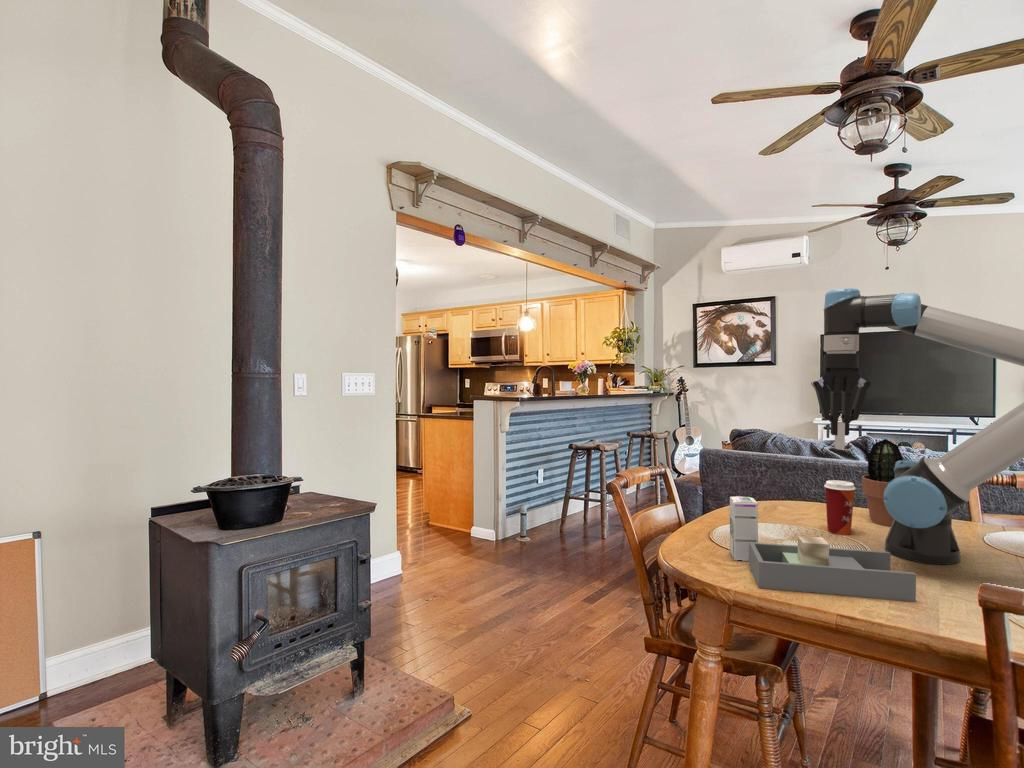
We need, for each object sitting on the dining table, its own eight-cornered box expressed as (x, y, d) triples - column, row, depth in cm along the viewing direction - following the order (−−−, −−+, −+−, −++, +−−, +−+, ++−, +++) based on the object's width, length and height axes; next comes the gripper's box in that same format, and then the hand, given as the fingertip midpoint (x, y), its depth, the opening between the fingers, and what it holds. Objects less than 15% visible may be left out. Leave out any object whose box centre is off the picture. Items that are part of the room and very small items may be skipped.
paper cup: (854, 537, 155) (855, 486, 155) (822, 533, 159) (823, 483, 159) (855, 530, 162) (856, 481, 162) (824, 526, 166) (825, 478, 166)
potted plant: (928, 528, 163) (929, 441, 162) (880, 529, 163) (882, 442, 162) (895, 516, 177) (896, 435, 176) (851, 516, 177) (852, 436, 176)
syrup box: (758, 562, 137) (759, 502, 136) (732, 560, 138) (733, 501, 137) (753, 554, 142) (754, 496, 142) (728, 553, 143) (729, 495, 143)
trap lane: (888, 576, 127) (888, 551, 127) (915, 601, 114) (916, 574, 114) (748, 565, 135) (749, 542, 134) (758, 587, 121) (759, 562, 121)
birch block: (822, 559, 126) (822, 537, 126) (828, 567, 122) (829, 544, 121) (797, 558, 128) (797, 535, 127) (802, 565, 123) (803, 542, 123)
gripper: (815, 352, 138) (814, 450, 139) (876, 352, 135) (874, 451, 136) (807, 353, 145) (806, 445, 146) (865, 352, 142) (863, 447, 143)
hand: (839, 448), depth 141 cm, fingers closed
